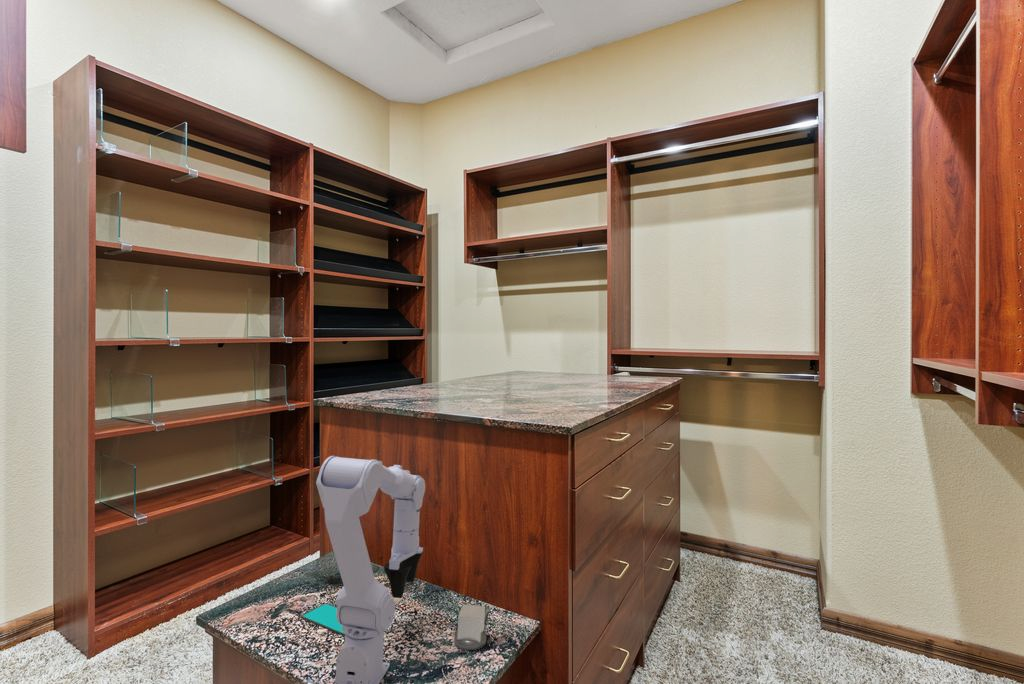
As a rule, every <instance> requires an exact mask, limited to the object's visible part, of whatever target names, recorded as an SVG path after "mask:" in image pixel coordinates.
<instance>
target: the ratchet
mask: <svg viewBox="0 0 1024 684" xmlns="http://www.w3.org/2000/svg"><path fill="white" fill-rule="evenodd" d="M474 606H476V605H474ZM484 606H485V605H484ZM488 609H489V607H488V606H487V605H486V606H485V619H484V623H485V622H486V618H487V616H488V611H489V610H488ZM453 637H454V638H453V644H454V646H455V647H456V648H457V649H459V650H462V651H465V650H475V651H478V650H481V649H482V648H484V647H485V645H486V643H487V632H486V630H485V629H484V631H483V635H482V638H481V641H480V642H473V641H463V640H457V637H458V629H456V630H455V632H454V636H453ZM483 646H484V647H483ZM480 648H481V649H480ZM477 649H478V650H477Z"/></svg>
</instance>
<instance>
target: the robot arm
mask: <svg viewBox="0 0 1024 684" xmlns="http://www.w3.org/2000/svg"><path fill="white" fill-rule="evenodd" d="M315 484H316V487H317V490H318V494H319V498H320V502H321V504H322V505H321V506H322V508H323V509H324V523H325V526H326V530H327V533H328V536H329V540H330V543H331V547H332V551H333V553H334V557H335V560H336V564H337V567H338V570H339V573H340V578H341V580H342V584H343V586H342V589H341V590H340V592H339V594H338V596H337V598H336V601H335V604H336V607H337V610H336V617H337V621H338V623H339V624H340V625H342V631H343V632H345V637H344V643H343V644H342V647H341V648H340V650H339V652H338V653H337V656H336V660H335V661H336V662H335V681H334V683H333V684H380V683H381V682H382V680H383V677H384V676H385V675H386V673H387V671H388V670H389V668H390V664H391V663H389V662H385V661H383V658H384V642H385V632H386V630H388V628H389V627H390V626H391V624H392V622H393V620H394V616H395V612H396V606H395V601H394V598H402V596H403V593H404V594H405V587H406V583H413V582H414V581H415V578H416V573H417V569H418V565H419V562H420V560H421V557H422V555H423V553H424V550H425V549H424V547H423V546H422V547H421V546H420V535H419V533H420V514H421V512H420V511H421V508H422V507H423V506H422V505H423V499H424V495H425V493H426V492H425V491H426V482H425V479H424V478H423V477H422V476H421V475H417V474H411V471H410V470H407V469H403V466H402V465H400V464H393V466H389V467H387V466H385V465H383V461H381V460H378V459H363V458H362V459H360V458H353V457H352V458H351V457H341V456H336V455H330V456H328V457H327V458H326V459H324V461H323V462H322V465H321V467H320V469H319V473H318V475H317V478H316V482H315ZM379 489H380V491H381V492H383V493H384V494H386V495H390V498H391V500H394V508H393V509H394V510H393V511H394V512H393V528H392V529H393V530H392V531H393V532H392V547H391V553H390V554H391V556H390V558H389V562H386V563H385V564H384V565H383V571H384V573H385V575H386V577H387V580H388V581H389V582H388V583H389V586H390V590H389V588H388V587H387V586H385V585H384V584H383V583H381V582H380V581H378V580H376V578H375V574H374V571H373V568H372V567H373V566H372V563H371V560H370V556H369V551H368V548H367V544H366V540H365V536H364V533H363V528H362V525H361V521H360V517H362V516H363V515H366V514H367V513H369V511H370V509H371V507H372V504H373V502H374V499H375V497H376V495H377V492H378V490H379ZM389 591H390V592H391V593H392V595H391V594H389V593H390V592H389ZM393 597H394V598H393Z"/></svg>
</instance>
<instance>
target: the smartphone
mask: <svg viewBox="0 0 1024 684" xmlns="http://www.w3.org/2000/svg"><path fill="white" fill-rule="evenodd" d="M324 603H325V604H323V603H322V604H320V605H318V606H316V607H314V608H313V609H310V610H308V611H307V612H304V613H303V614H300V617H299V618H300V619H301V618H302V620H304V619H305V620H304V621H306V620H307V621H306V622H308V621H310V622H309V623H311V622H312V623H311V624H313V623H314V625H315V624H316V625H315V626H318V627H321V628H322V629H323V630H327V631H329V632H332V633H334V634H336V635H339V636H342V637H344V638H345V632H343V631H342V625H340V624H339V623H338V621H337V617H336V610H337V606H334V605H332V604H330V603H327V602H324Z"/></svg>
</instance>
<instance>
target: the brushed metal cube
mask: <svg viewBox="0 0 1024 684" xmlns="http://www.w3.org/2000/svg"><path fill="white" fill-rule="evenodd" d="M484 619H485V605H483V606H482V605H475V606H474V605H472V604H462V606H461V609H460V611H459V614H458V616H457V630H458V637H457V640H463V641H473V642H480V641H481V638H482V635H483V631H484V630H485V622H484ZM485 620H486V619H485Z"/></svg>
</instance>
